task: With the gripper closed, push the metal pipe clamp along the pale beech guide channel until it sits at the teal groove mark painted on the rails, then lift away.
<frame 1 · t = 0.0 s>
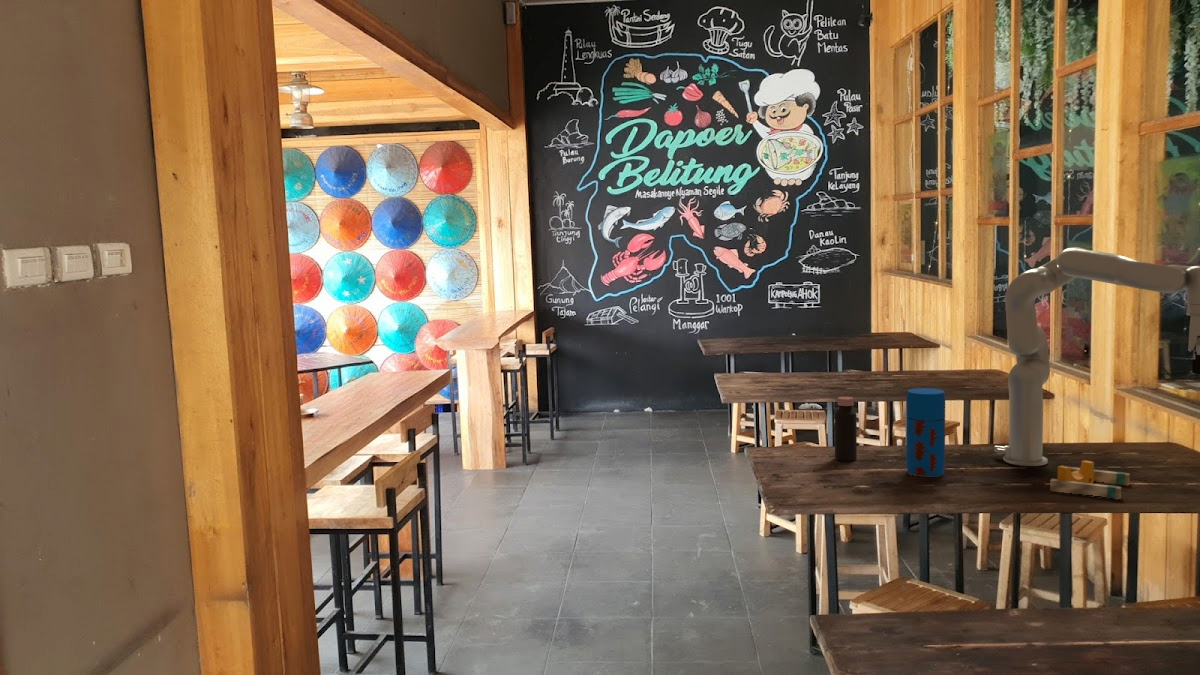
channel: (1090, 487, 263), on the table
bottle: (845, 459, 303), on the table
thermos: (925, 473, 283), on the table
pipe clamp: (1072, 486, 266), on the table
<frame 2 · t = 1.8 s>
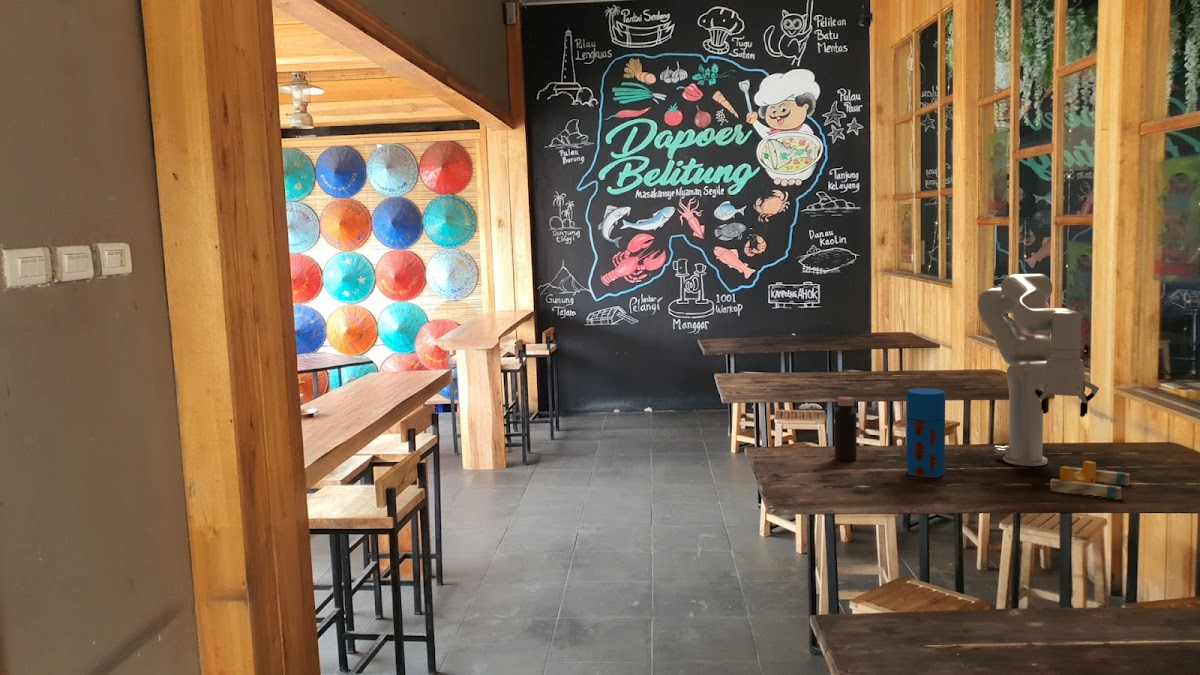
hand: (1064, 414, 267), 20 cm above the table, tool pointing down, fingers open, 9 cm apart
nothing on the table moved.
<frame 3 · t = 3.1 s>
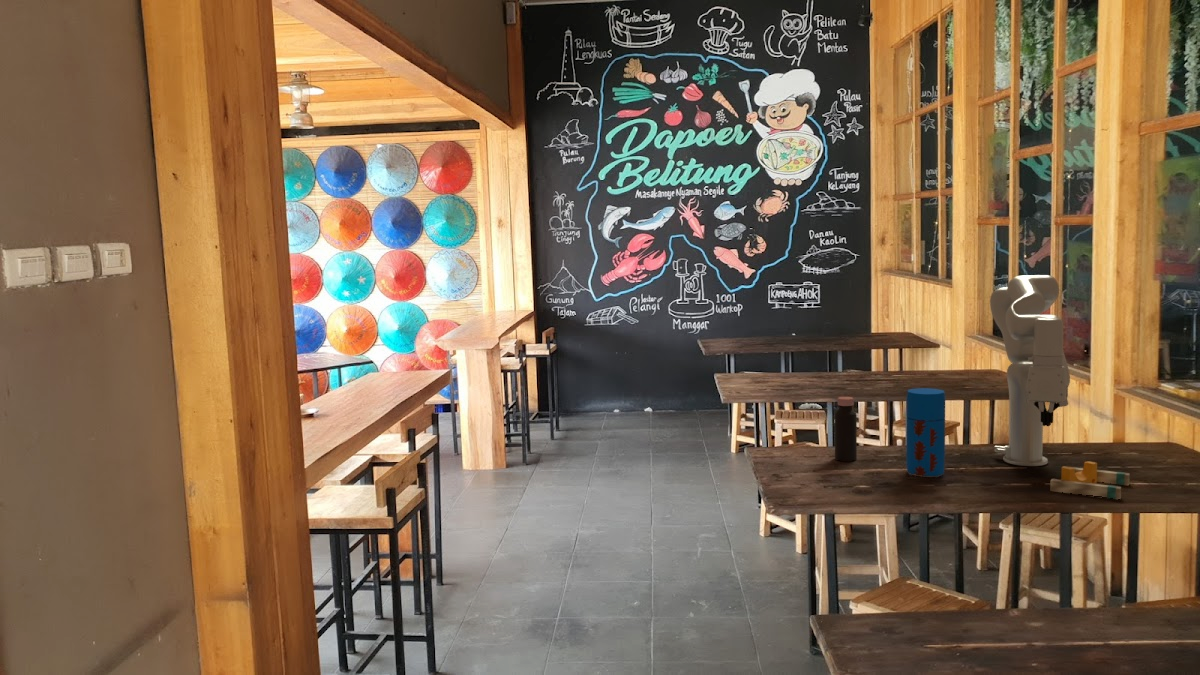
hand: (1046, 425, 268), 17 cm above the table, tool pointing down, fingers closed
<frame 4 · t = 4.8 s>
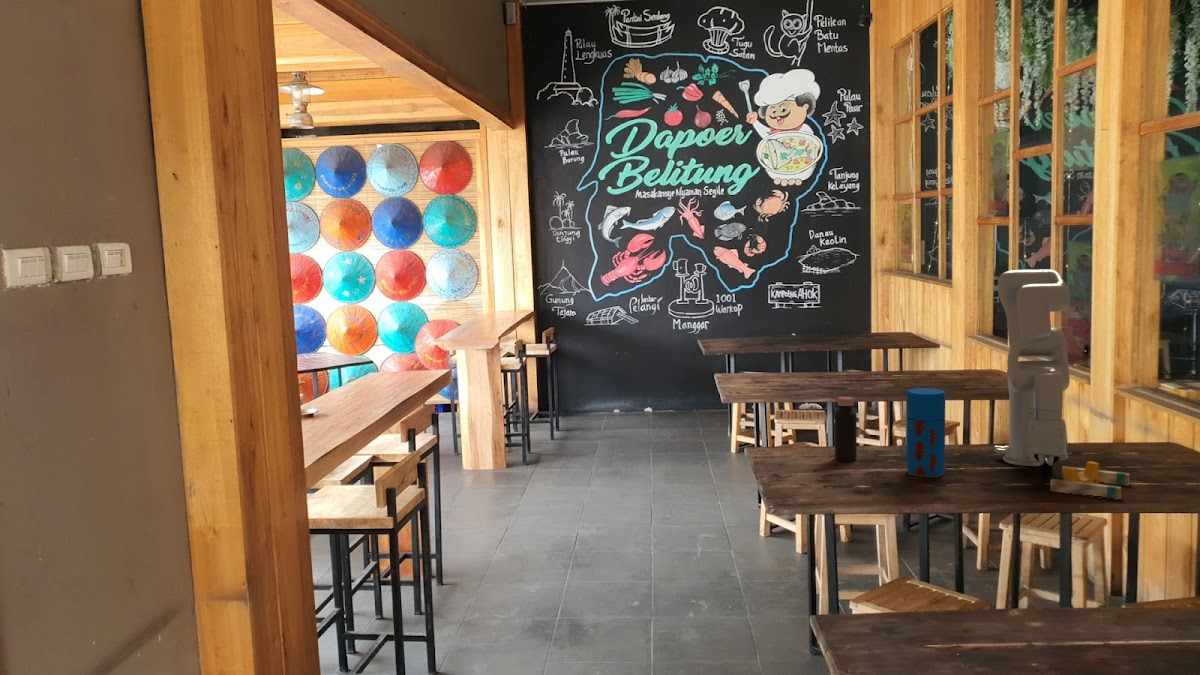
hand: (1046, 477, 269), 1 cm above the table, tool pointing down, fingers closed
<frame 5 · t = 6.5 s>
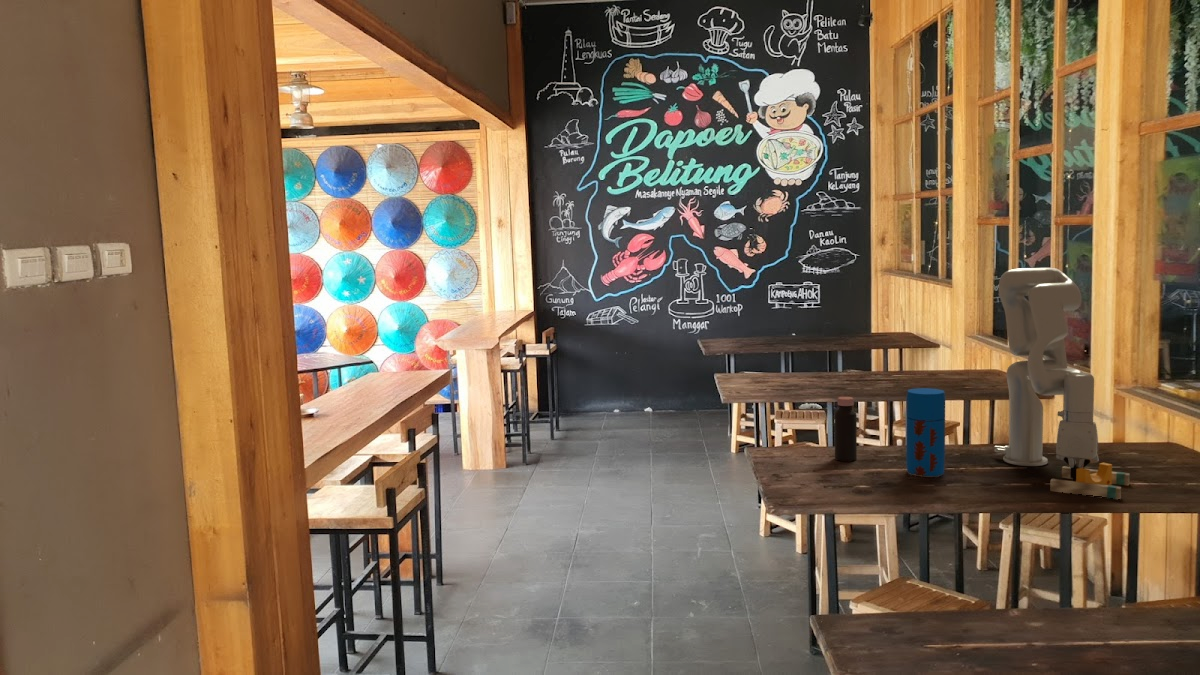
hand: (1076, 481, 265), 1 cm above the table, tool pointing down, fingers closed
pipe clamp: (1090, 489, 262), on the table, touching gripper
everything else where it was.
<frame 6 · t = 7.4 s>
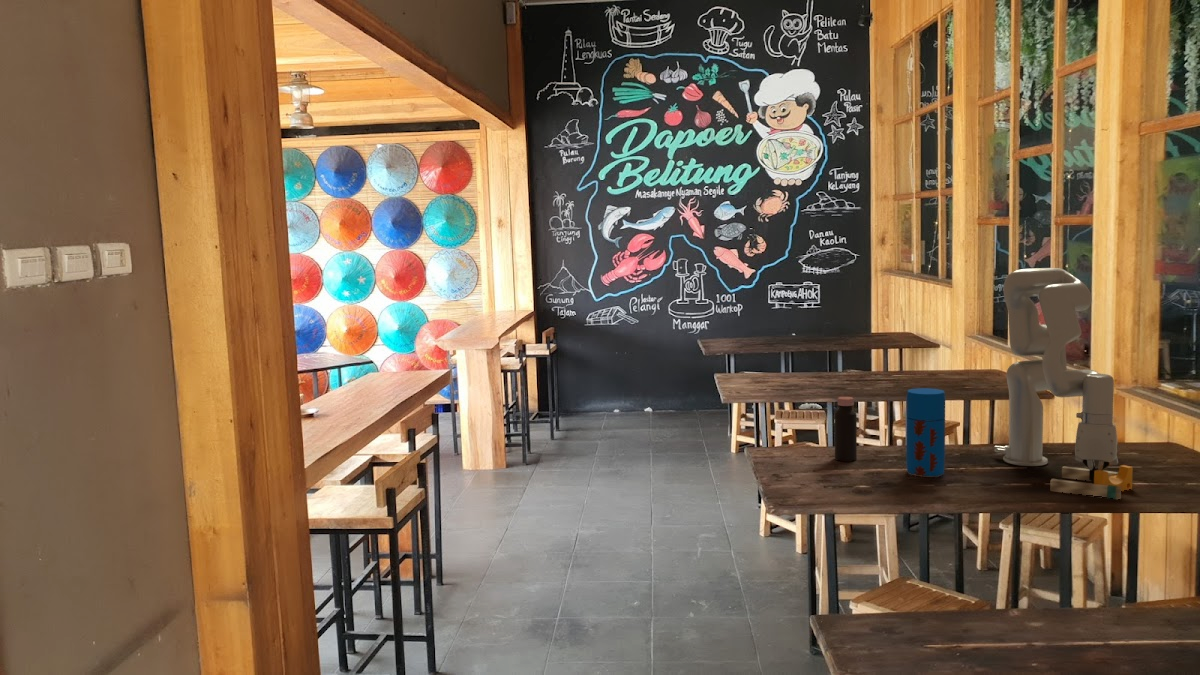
hand: (1095, 483, 262), 1 cm above the table, tool pointing down, fingers closed
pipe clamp: (1110, 491, 259), on the table, touching gripper
everything else where it was.
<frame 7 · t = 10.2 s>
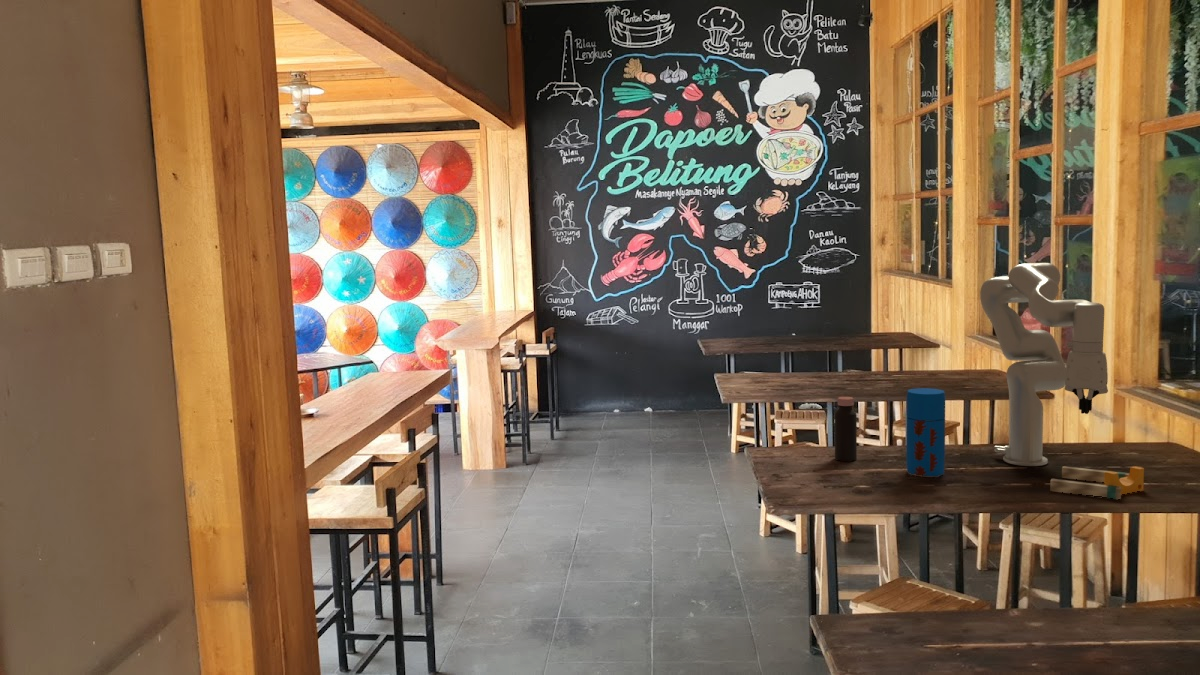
hand: (1085, 412, 262), 21 cm above the table, tool pointing down, fingers closed
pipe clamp: (1120, 493, 258), on the table
everything else where it was.
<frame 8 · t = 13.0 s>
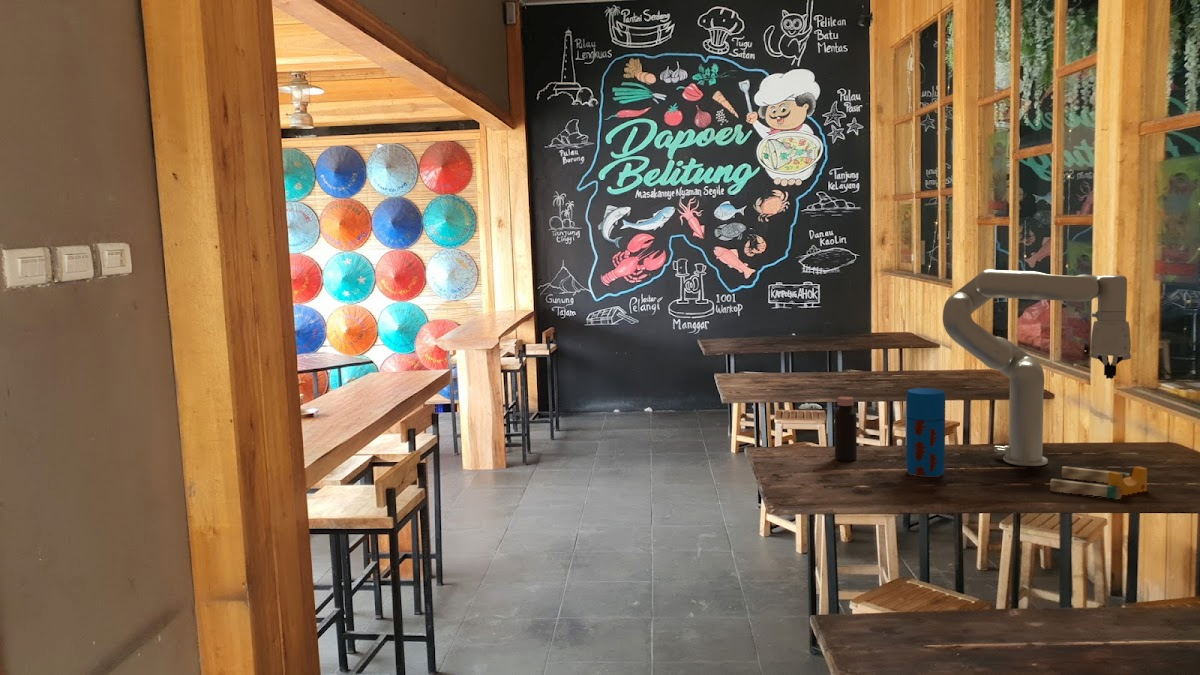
hand: (1109, 378, 281), 27 cm above the table, tool pointing down, fingers closed
nothing on the table moved.
at the end: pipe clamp inside the target area (2.1 cm from its centre), on the table; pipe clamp tilted 0° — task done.
